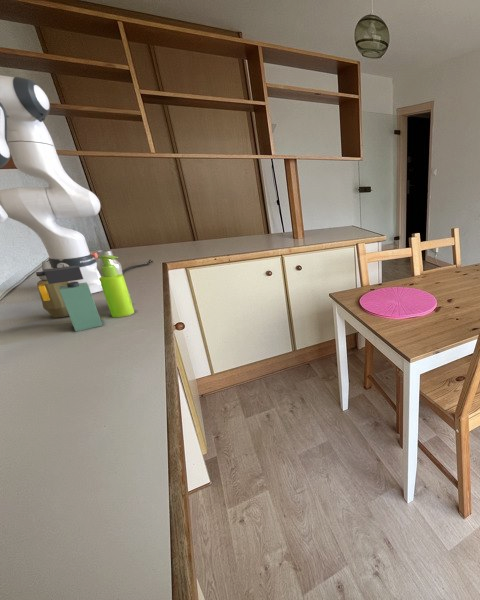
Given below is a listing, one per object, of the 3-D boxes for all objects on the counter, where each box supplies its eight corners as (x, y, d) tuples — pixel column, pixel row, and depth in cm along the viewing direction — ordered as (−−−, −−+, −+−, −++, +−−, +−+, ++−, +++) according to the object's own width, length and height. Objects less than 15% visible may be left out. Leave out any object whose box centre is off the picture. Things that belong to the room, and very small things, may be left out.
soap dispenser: (124, 318, 102) (104, 258, 95) (106, 316, 103) (86, 257, 96) (141, 311, 107) (124, 254, 100) (124, 309, 109) (106, 253, 101)
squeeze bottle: (87, 311, 106) (69, 260, 100) (57, 321, 99) (34, 266, 92) (72, 308, 108) (53, 257, 102) (41, 317, 101) (18, 263, 95)
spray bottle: (60, 335, 91) (35, 273, 84) (59, 329, 94) (35, 269, 87) (102, 325, 97) (82, 267, 90) (100, 320, 100) (80, 264, 93)
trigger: (43, 301, 87) (38, 287, 86) (43, 298, 89) (38, 284, 88) (50, 300, 88) (44, 286, 86) (49, 297, 90) (44, 283, 88)
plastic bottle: (114, 311, 107) (95, 254, 100) (106, 307, 110) (87, 251, 103) (137, 305, 112) (120, 250, 105) (129, 301, 115) (112, 248, 108)
